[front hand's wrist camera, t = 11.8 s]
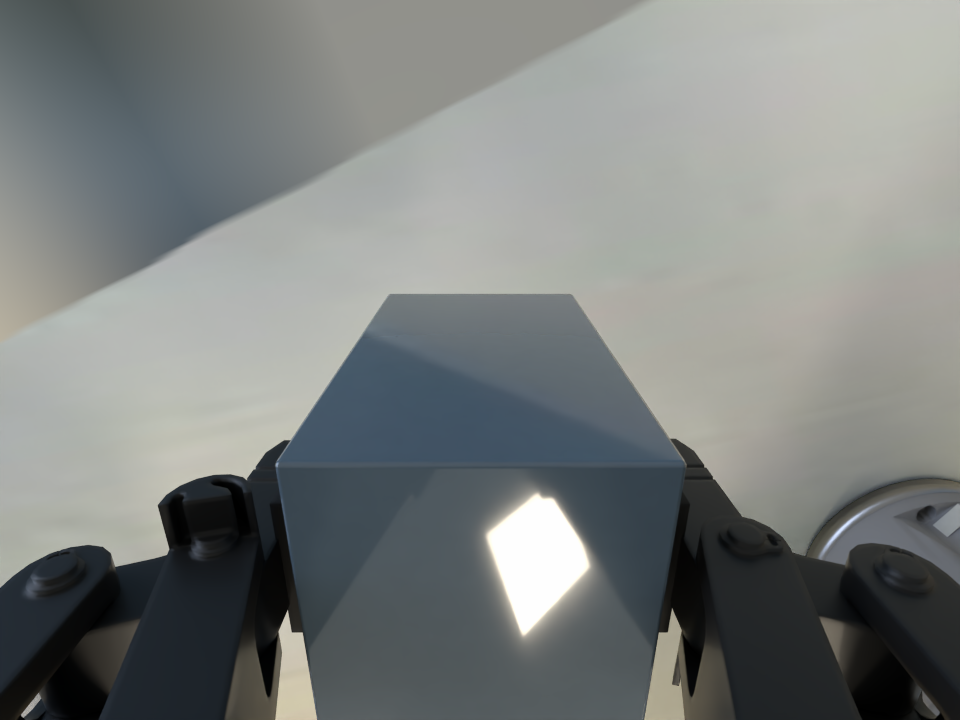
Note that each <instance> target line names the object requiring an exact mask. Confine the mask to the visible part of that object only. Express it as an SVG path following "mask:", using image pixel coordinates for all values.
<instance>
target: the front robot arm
mask: <svg viewBox="0 0 960 720" xmlns="http://www.w3.org/2000/svg"><path fill="white" fill-rule="evenodd" d="M670 440H671V441H672V443H673V444H674V445H675V447H676V448H677V450H678V451H679V453H680V454H681V456H682V457H683V459H684V460H685V462H686V472H685V478H684V484H683V490H682V496H681V502H680V508H679V514H678V520H677V526H676V532H675V538H674V544H673V550H672V556H671V562H670V568H669V574H668V580H667V586H666V592H665V598H664V604H663V610H662V616H661V622H660V628H659V632H668V628H669V622H670V616H671V611H672V608H673V611H674V613H675V615H676V618H677V620H678V622H679V625H680V627H681V629H682V632H681V638H680V643H679V648H678V654H677V659H676V664H675V669H674V675H673V682H672V685H677V686H679V683H680V678H681V685H682V695H683V705H684V715H685V720H960V483H958V482H954V481H949V480H942V479H918V480H910V481H905V482H900V483H896V484H892V485H889V486H886V487H883V488H880V489H878V490H875V491H873V492H871V493H869V494H867V495H865V496H863V497H861V498H859V499H857V500H856V501H854V502H852V503H851V504H849V505H848V506H847V507H845V508H844V509H842V510H841V511H840V512H839V513H837V514H836V515H835V516H834V517H833V518H832V519H831V520H830V521H829V522H828V523H827V524H826V525H825V526H824V527H823V528H822V530H821V531H820V532H819V534H818V535H817V536H816V538H815V539H814V541H813V543H812V544H811V546H810V549H809V551H808V553H807V556H802V555H799V554H795V553H792V551H791V548H790V547H789V546H788V544H787V543H786V541H785V540H784V539H783V537H781V536H780V535H779V534H778V533H776V532H775V531H774V530H772V529H771V528H770V527H768V526H766V525H764V524H761V523H759V522H757V521H755V520H752V519H748V518H745V517H742V516H741V515H740V513H739V512H738V511H737V509H736V508H735V507H734V505H733V504H732V502H731V501H730V500H729V498H728V497H727V496H726V494H725V493H724V491H723V490H722V489H721V487H720V486H719V485H718V483H717V482H716V481H715V480H713V476H712V475H711V474H710V472H709V471H708V470H707V468H704V464H703V463H702V461H701V460H700V459H699V457H698V456H697V455H696V453H695V452H694V451H693V450H692V449H690V448H689V447H687V446H686V445H684V444H683V443H681V442H680V441H678V440H677V439H670ZM290 441H291V440H284V441H283V442H281V443H280V444H278V445H277V446H275V447H274V448H272V449H271V450H269V451H268V452H266V453H265V455H264V456H263V458H262V459H261V460H260V462H259V463H258V464H257V466H256V470H253V471H252V473H251V474H250V475H249V477H248V478H247V480H246V479H244V478H243V477H239V476H235V475H231V474H229V475H212V476H208V477H203V478H199V479H196V480H193V481H191V482H188V483H186V484H183V485H181V486H179V487H178V488H176V489H175V490H173V491H172V492H170V493H169V494H167V495H166V496H165V497H164V498H163V500H162V501H161V502H160V503H159V505H158V508H159V512H160V516H161V519H162V523H163V527H164V530H165V534H166V538H167V541H168V545H169V552H168V554H167V555H166V556H162V557H159V558H155V559H150V560H146V561H141V562H137V563H132V564H127V565H123V566H118V567H115V565H114V562H113V559H112V556H111V553H110V552H108V551H107V550H106V549H105V548H103V547H99V546H92V545H85V546H78V547H70V548H67V549H63V550H61V551H57V552H54V553H51V554H49V555H47V556H45V557H43V558H41V559H39V560H37V561H35V562H33V563H31V564H29V565H28V566H26V567H25V568H24V569H22V570H21V571H20V572H18V573H17V574H16V575H14V576H13V577H12V578H11V579H10V580H8V581H7V582H6V583H5V584H4V585H3V586H2V587H1V588H0V720H275V716H276V706H277V696H278V687H279V677H280V667H281V657H282V650H281V643H280V638H279V632H278V631H279V629H280V626H281V624H282V622H283V619H284V617H285V615H286V612H287V610H288V613H289V618H290V624H291V630H292V632H303V630H302V624H301V618H300V612H299V606H298V600H297V594H296V588H295V582H294V576H293V570H292V564H291V558H290V552H289V546H288V540H287V534H286V528H285V522H284V516H283V510H282V504H281V498H280V492H279V486H278V480H277V474H276V467H275V465H276V461H277V460H278V458H279V457H280V455H281V454H282V452H283V451H284V450H285V448H286V447H287V445H288V444H289V442H290ZM38 693H39V694H40V696H41V700H40V701H39V702H38V703H37V705H36V706H35V707H34V708H33V710H32V711H31V712H29V713H28V714H27V715H26V716H25V717H24V718H23V717H21V714H22V713H23V711H24V710H25V709H26V708H27V706H28V705H29V704H30V703H31V701H32V700H33V699H34V698H35V696H36V695H37V694H38Z"/></svg>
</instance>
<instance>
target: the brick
mask: <svg viewBox="0 0 960 720" xmlns="http://www.w3.org/2000/svg"><path fill="white" fill-rule="evenodd" d="M275 467H276V474H277V480H278V486H279V492H280V498H281V504H282V510H283V516H284V522H285V528H286V534H287V540H288V546H289V552H290V558H291V564H292V570H293V576H294V582H295V588H296V594H297V600H298V606H299V612H300V618H301V624H302V630H303V636H304V642H305V648H306V654H307V660H308V666H309V672H310V678H311V684H312V690H313V696H314V703H315V709H316V715H317V720H644V717H645V711H646V705H647V699H648V693H649V687H650V681H651V675H652V669H653V663H654V657H655V652H656V646H657V640H658V634H659V628H660V622H661V616H662V610H663V604H664V598H665V592H666V586H667V580H668V574H669V568H670V562H671V556H672V550H673V544H674V538H675V532H676V526H677V520H678V514H679V508H680V502H681V496H682V490H683V484H684V478H685V472H686V462H685V460H684V459H683V457H682V456H681V454H680V453H679V451H678V450H677V448H676V447H675V445H674V444H673V443H672V441H671V440H670V438H669V437H668V435H667V434H666V432H665V431H664V429H663V428H662V426H661V425H660V423H659V422H658V420H657V419H656V417H655V416H654V415H653V413H652V412H651V410H650V409H649V407H648V406H647V404H646V403H645V401H644V400H643V398H642V397H641V395H640V394H639V392H638V391H637V389H636V388H635V387H634V385H633V384H632V382H631V381H630V379H629V378H628V376H627V375H626V373H625V372H624V370H623V369H622V367H621V366H620V364H619V363H618V361H617V360H616V359H615V357H614V356H613V354H612V353H611V351H610V350H609V348H608V347H607V345H606V344H605V342H604V341H603V339H602V338H601V336H600V335H599V333H598V332H597V331H596V329H595V328H594V326H593V325H592V323H591V322H590V320H589V319H588V317H587V316H586V314H585V313H584V311H583V310H582V308H581V307H580V305H579V304H578V302H577V301H576V300H575V298H574V297H573V295H571V294H389V295H388V296H387V298H386V299H385V301H384V302H383V304H382V305H381V307H380V308H379V310H378V311H377V313H376V314H375V316H374V317H373V319H372V320H371V322H370V323H369V325H368V326H367V328H366V329H365V331H364V332H363V334H362V335H361V337H360V338H359V340H358V341H357V342H356V344H355V345H354V347H353V348H352V350H351V351H350V353H349V354H348V356H347V357H346V359H345V360H344V362H343V363H342V365H341V366H340V368H339V369H338V371H337V372H336V374H335V375H334V377H333V378H332V380H331V381H330V383H329V384H328V386H327V387H326V389H325V390H324V392H323V393H322V395H321V396H320V397H319V399H318V400H317V402H316V403H315V405H314V406H313V408H312V409H311V411H310V412H309V414H308V415H307V417H306V418H305V420H304V421H303V423H302V424H301V426H300V427H299V429H298V430H297V432H296V433H295V435H294V436H293V438H292V439H291V441H290V442H289V444H288V445H287V447H286V448H285V450H284V451H283V452H282V454H281V455H280V457H279V458H278V460H277V461H276V465H275Z"/></svg>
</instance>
